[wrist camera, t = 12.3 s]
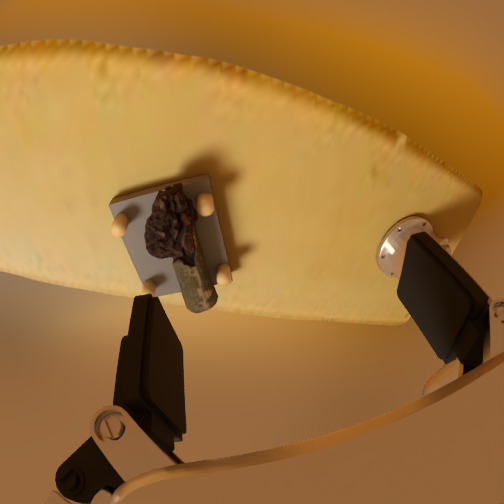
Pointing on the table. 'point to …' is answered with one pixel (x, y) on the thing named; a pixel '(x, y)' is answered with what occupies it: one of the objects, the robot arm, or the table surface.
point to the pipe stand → (161, 270)
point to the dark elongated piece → (180, 246)
